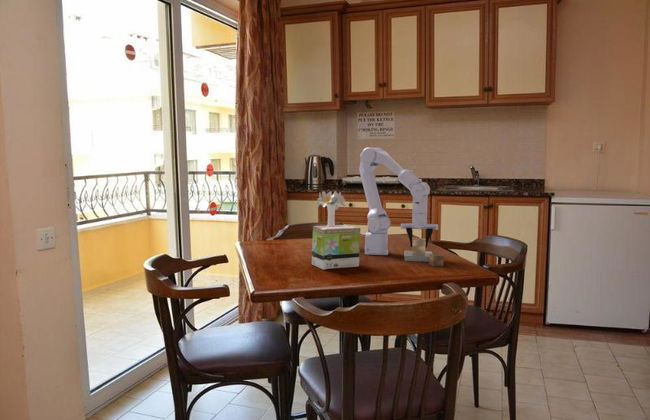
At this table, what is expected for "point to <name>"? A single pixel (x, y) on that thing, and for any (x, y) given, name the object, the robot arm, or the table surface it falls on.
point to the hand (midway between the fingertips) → (418, 247)
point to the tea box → (335, 246)
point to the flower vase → (331, 204)
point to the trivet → (417, 256)
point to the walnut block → (436, 259)
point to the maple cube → (418, 245)
